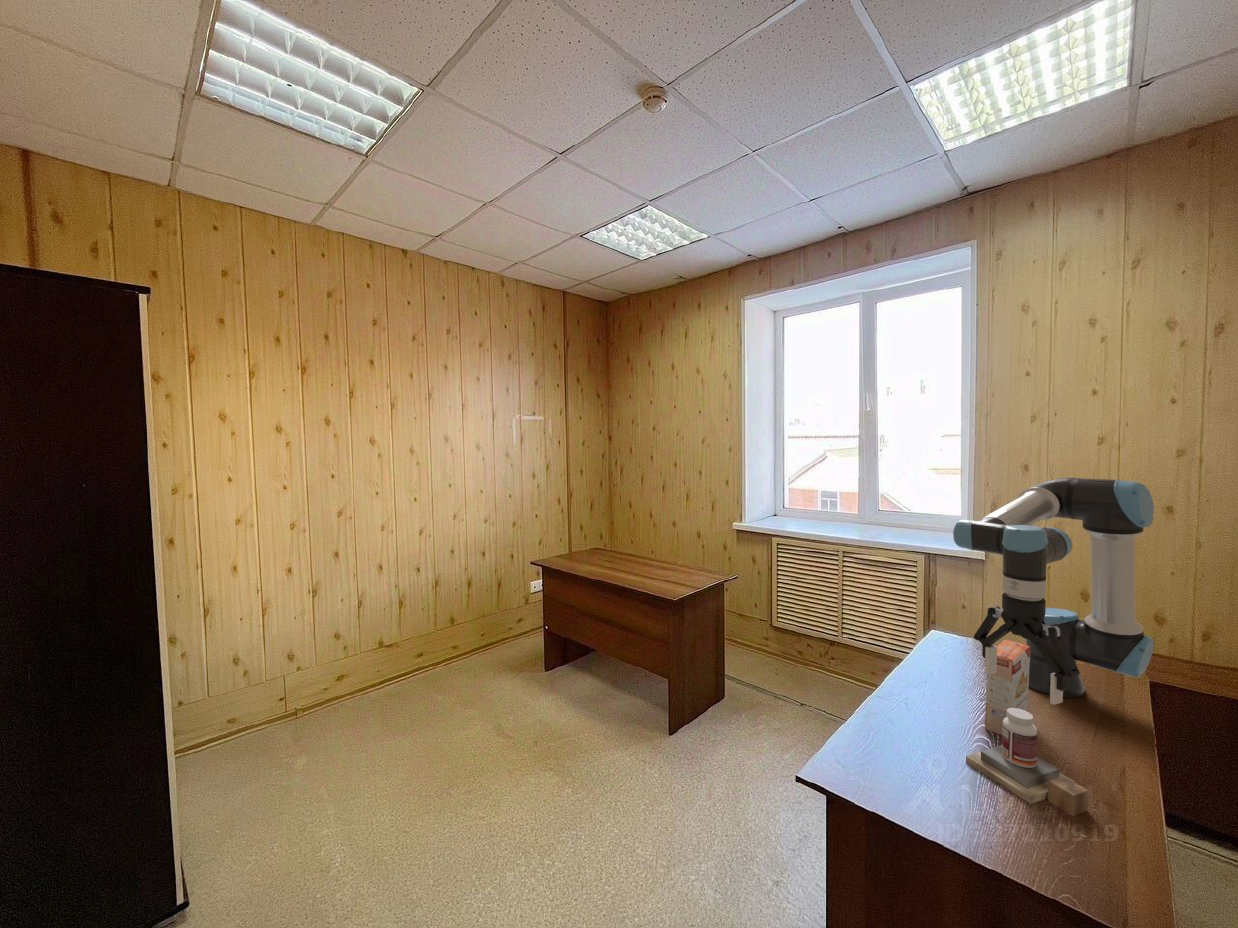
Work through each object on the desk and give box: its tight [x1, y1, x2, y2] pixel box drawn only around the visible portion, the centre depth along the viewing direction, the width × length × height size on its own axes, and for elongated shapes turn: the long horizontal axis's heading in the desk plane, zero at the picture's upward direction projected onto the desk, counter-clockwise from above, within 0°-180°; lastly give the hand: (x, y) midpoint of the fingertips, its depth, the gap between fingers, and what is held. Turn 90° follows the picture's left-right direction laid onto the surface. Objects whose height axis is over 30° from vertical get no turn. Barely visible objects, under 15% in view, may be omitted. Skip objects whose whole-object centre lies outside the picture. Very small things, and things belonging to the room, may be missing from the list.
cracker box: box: [984, 639, 1030, 737], centre depth 129 cm, size 14×6×21 cm, turn 126°
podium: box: [965, 744, 1077, 805], centre depth 111 cm, size 14×14×4 cm
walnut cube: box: [1047, 776, 1089, 817], centre depth 102 cm, size 4×4×4 cm
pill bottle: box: [1001, 708, 1038, 768], centre depth 111 cm, size 6×6×11 cm
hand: (1021, 687), depth 110 cm, fingers open, 13 cm apart
